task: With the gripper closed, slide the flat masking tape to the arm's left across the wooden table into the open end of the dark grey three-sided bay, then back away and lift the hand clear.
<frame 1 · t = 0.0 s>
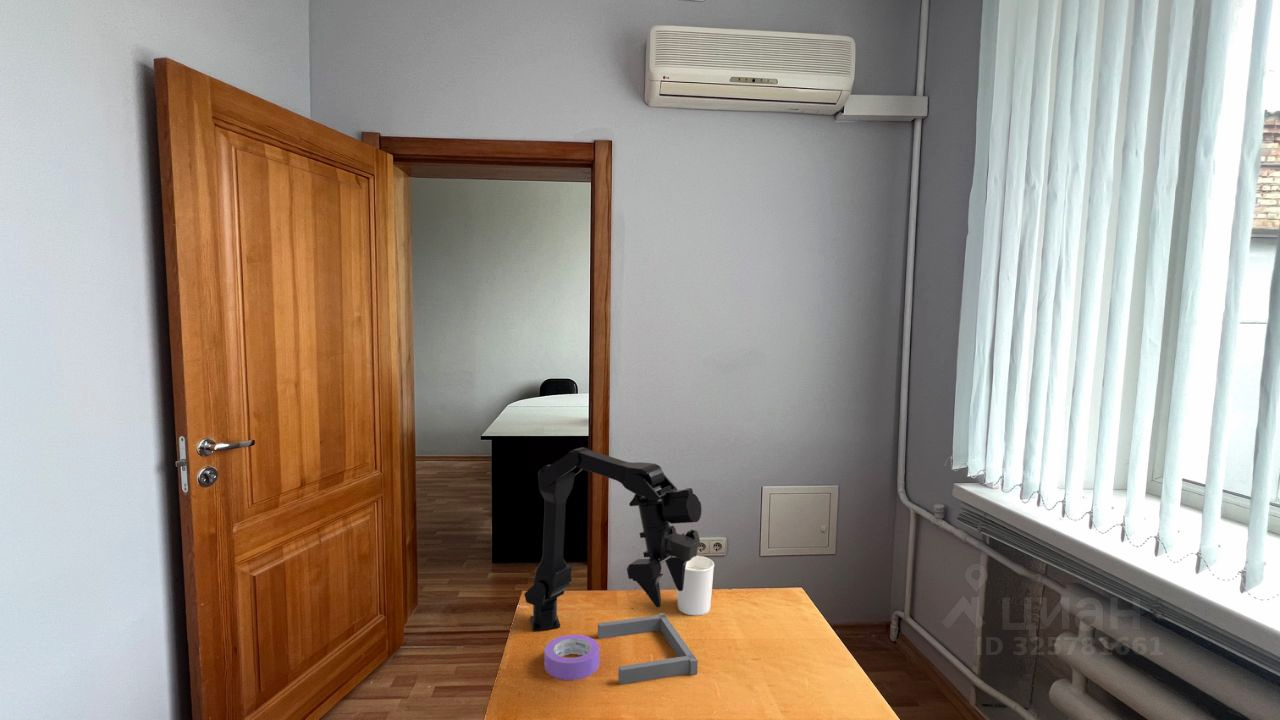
hand: (670, 598, 129), 15 cm above the table, tool pointing down, fingers open, 9 cm apart
masking tape: (571, 666, 132), on the table
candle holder: (693, 608, 158), on the table
grey bay: (638, 653, 136), on the table
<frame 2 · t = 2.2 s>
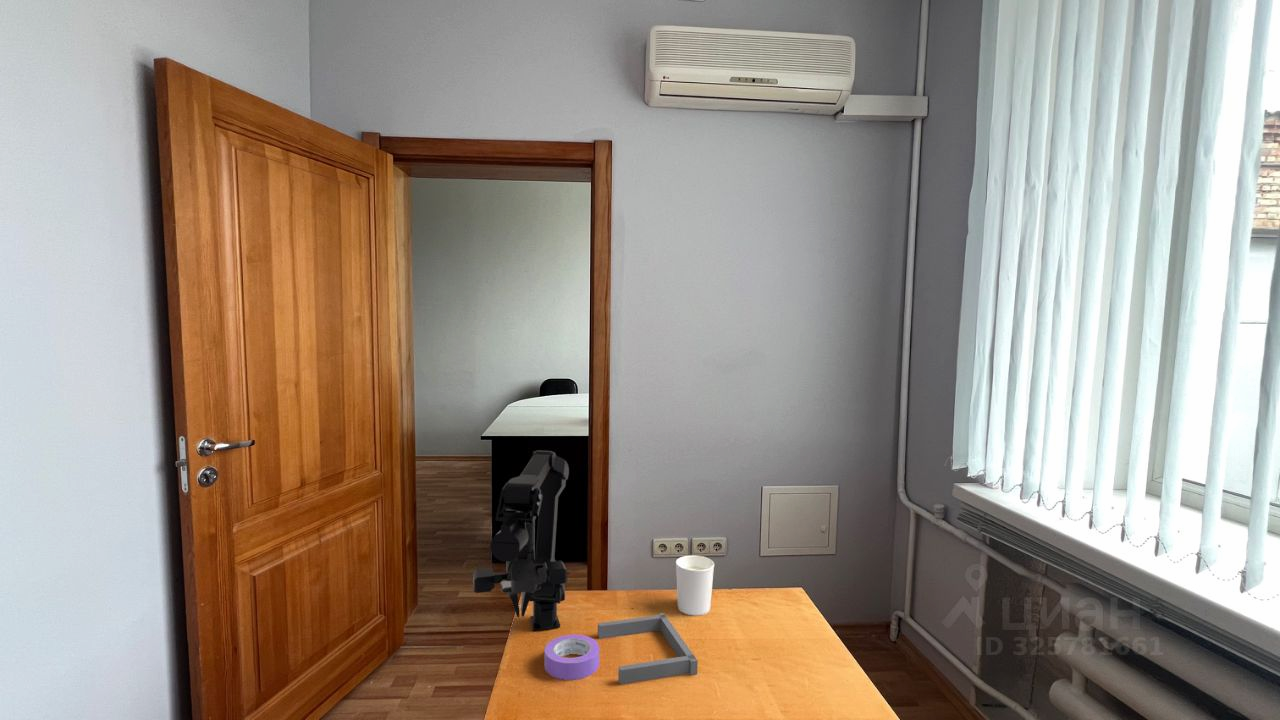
hand: (520, 616, 128), 12 cm above the table, tool pointing down, fingers closed
nothing on the table moved.
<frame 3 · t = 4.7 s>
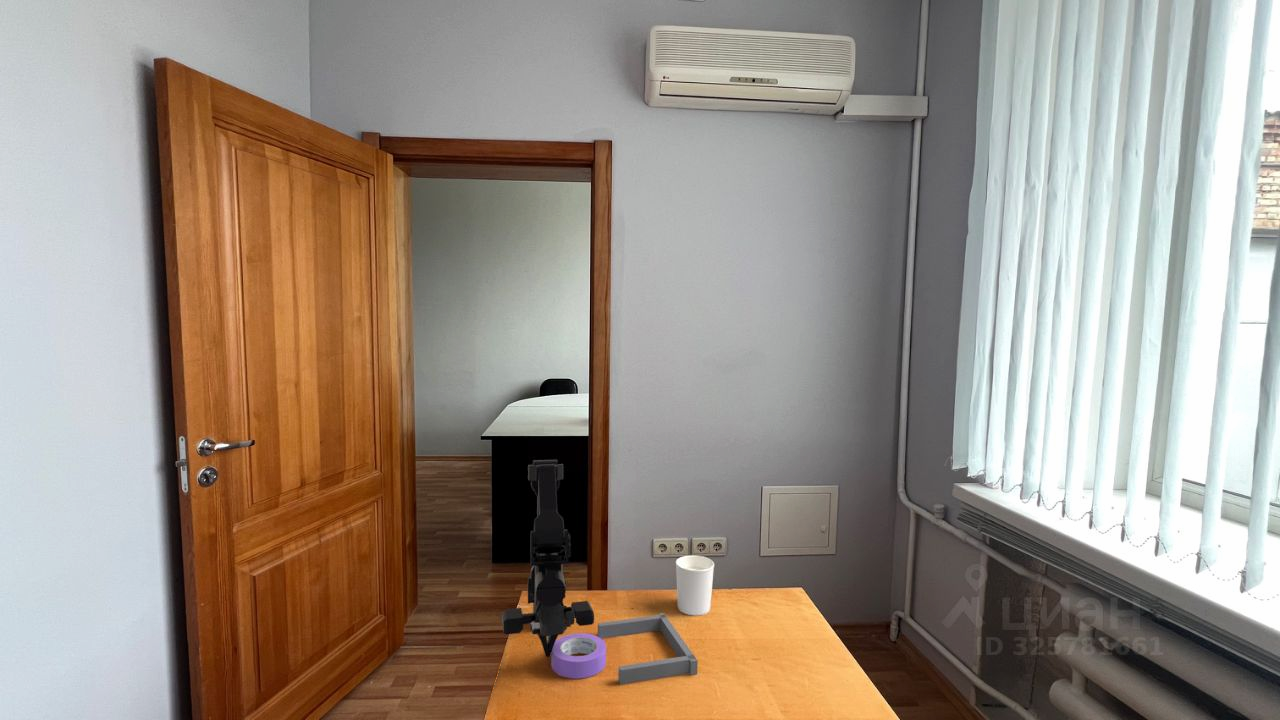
hand: (547, 656, 130), 3 cm above the table, tool pointing down, fingers closed
masking tape: (578, 664, 132), on the table, touching gripper
everything else where it was.
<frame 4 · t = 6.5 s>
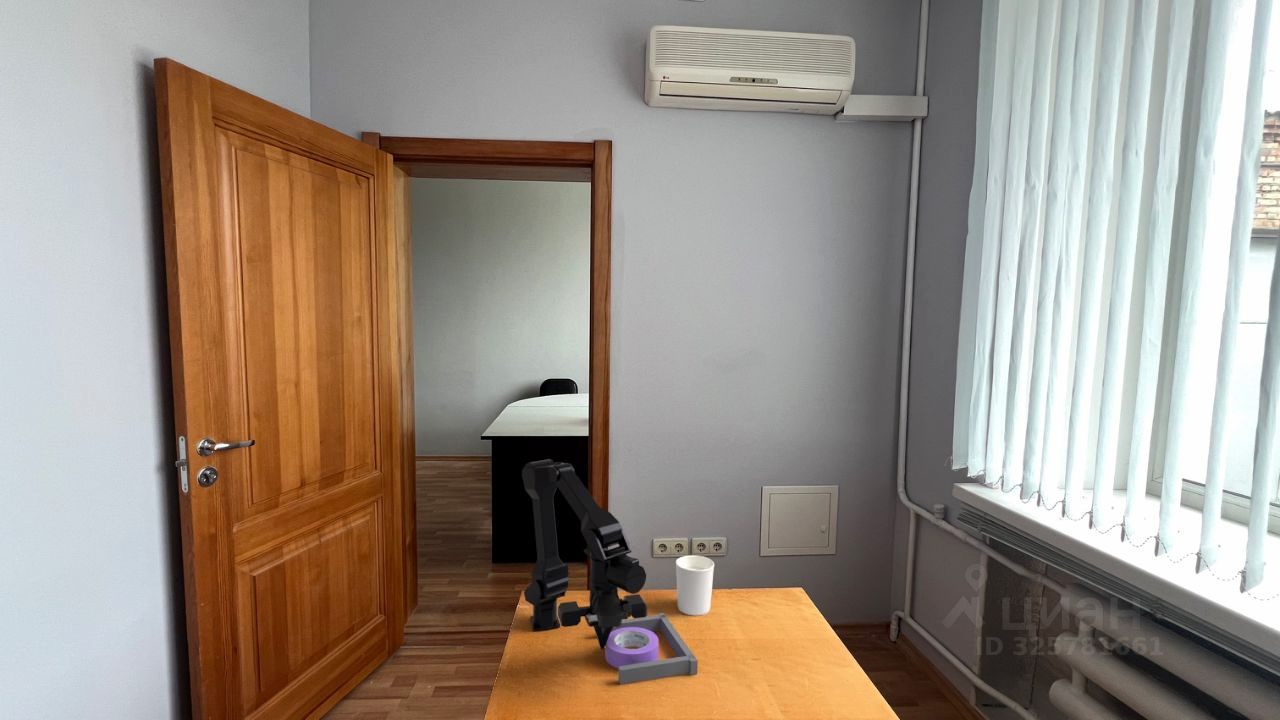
hand: (602, 648, 134), 3 cm above the table, tool pointing down, fingers closed
masking tape: (631, 657, 135), on the table, touching gripper
everything else where it was.
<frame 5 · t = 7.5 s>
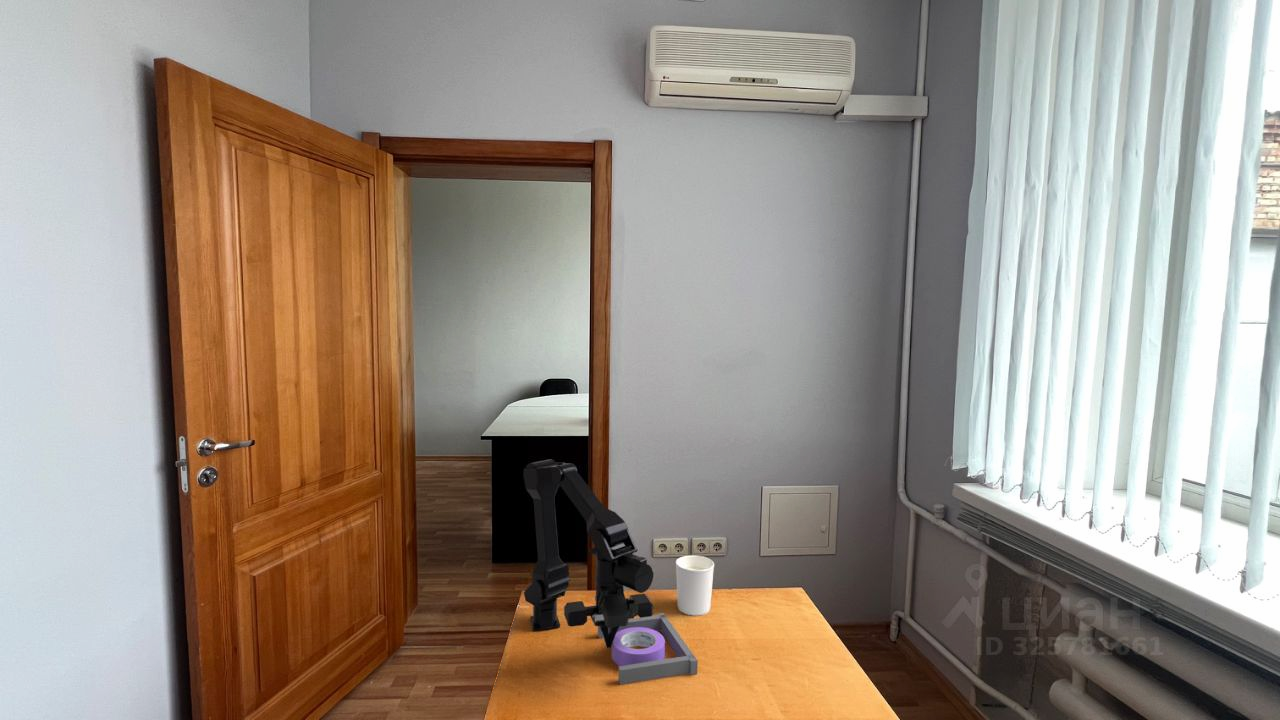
hand: (608, 647, 134), 3 cm above the table, tool pointing down, fingers closed
masking tape: (638, 657, 136), on the table
everything else where it was.
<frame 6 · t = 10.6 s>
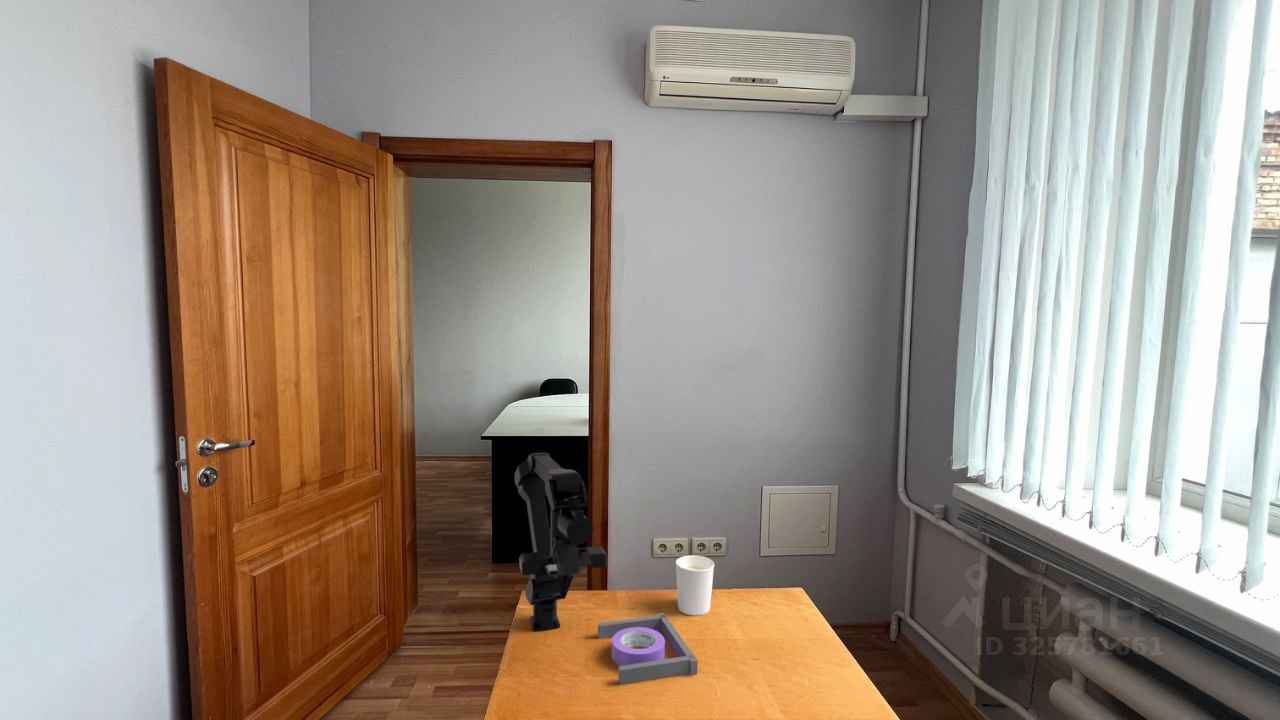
hand: (563, 597, 136), 12 cm above the table, tool pointing down, fingers closed
nothing on the table moved.
at the end: masking tape inside the target area on the grey bay (0.6 cm from its centre), point -0.5 cm above the grey bay's base; masking tape tilted 0°; the gripper is holding nothing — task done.
